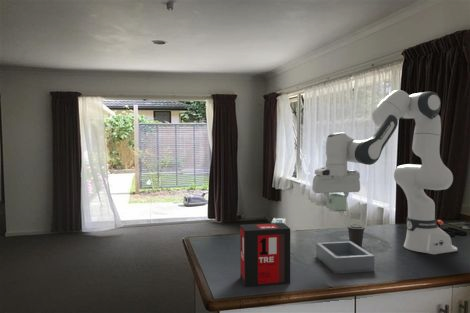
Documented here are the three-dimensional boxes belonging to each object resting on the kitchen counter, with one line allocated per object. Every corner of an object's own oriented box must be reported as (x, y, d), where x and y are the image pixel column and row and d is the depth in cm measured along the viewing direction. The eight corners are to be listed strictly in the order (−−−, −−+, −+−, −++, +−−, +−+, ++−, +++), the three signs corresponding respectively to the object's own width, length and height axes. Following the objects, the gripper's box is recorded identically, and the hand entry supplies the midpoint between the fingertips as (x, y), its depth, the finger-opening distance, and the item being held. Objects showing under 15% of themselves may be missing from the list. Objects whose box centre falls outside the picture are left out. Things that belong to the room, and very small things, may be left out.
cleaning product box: (245, 287, 126) (244, 230, 125) (240, 277, 135) (240, 224, 134) (290, 283, 128) (290, 228, 127) (283, 274, 137) (282, 222, 136)
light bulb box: (285, 244, 175) (284, 223, 174) (271, 244, 176) (271, 222, 175) (286, 238, 185) (286, 218, 184) (273, 238, 186) (273, 217, 186)
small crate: (337, 206, 158) (337, 193, 158) (346, 210, 149) (346, 196, 149) (326, 207, 157) (326, 193, 157) (334, 211, 149) (334, 196, 148)
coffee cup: (356, 242, 177) (356, 222, 176) (368, 247, 170) (368, 226, 169) (343, 245, 173) (343, 224, 173) (355, 249, 166) (355, 228, 166)
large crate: (350, 254, 159) (350, 241, 159) (374, 271, 140) (374, 255, 139) (316, 256, 157) (316, 242, 157) (335, 273, 137) (335, 258, 137)
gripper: (356, 169, 157) (356, 200, 158) (311, 170, 154) (311, 202, 155) (363, 170, 151) (362, 203, 151) (316, 171, 148) (316, 205, 149)
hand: (336, 202), depth 153 cm, fingers closed on small crate, 5 cm apart
